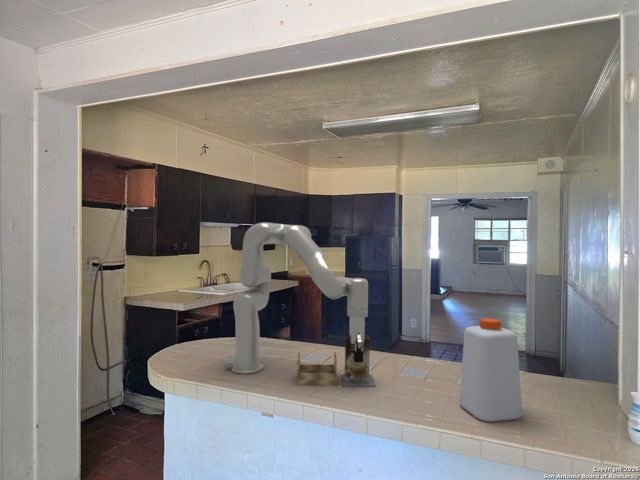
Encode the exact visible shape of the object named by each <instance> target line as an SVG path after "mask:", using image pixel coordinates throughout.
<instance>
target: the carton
mask: <svg viewBox="0 0 640 480" xmlns="http://www.w3.org/2000/svg"><path fill="white" fill-rule="evenodd" d="M296 359H297V360H296V361H297V362H296V365H297V366H296V367H297V368H296V369H297V370H296V385H297V386H337V382H338V381H337V380H338V379H337V376H338V373H337V365H338V364H337V363H338V360H337V353H336V351H333V363H331V364H330V363H328V364H326V363H325V364H323V363H320V364H319V363H314V364H313V363H312V364H311V363H310V364H309V363H303V364H302V363H301V351H298V354H297V358H296Z"/></svg>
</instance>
